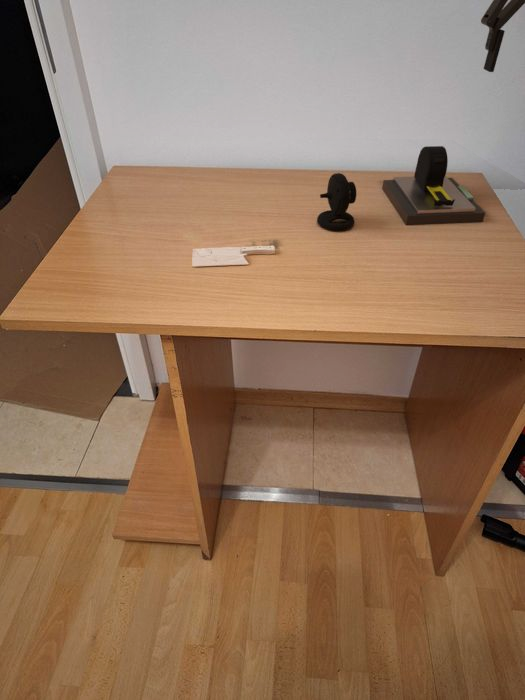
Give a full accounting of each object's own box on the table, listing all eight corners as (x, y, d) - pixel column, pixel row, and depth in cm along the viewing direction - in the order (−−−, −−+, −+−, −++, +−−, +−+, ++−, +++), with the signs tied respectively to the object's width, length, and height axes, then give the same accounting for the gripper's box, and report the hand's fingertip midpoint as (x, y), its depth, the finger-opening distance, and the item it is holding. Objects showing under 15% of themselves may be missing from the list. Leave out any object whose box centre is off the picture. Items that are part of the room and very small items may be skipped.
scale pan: (444, 178, 110) (445, 175, 109) (474, 212, 97) (476, 208, 97) (392, 180, 109) (393, 177, 109) (416, 214, 96) (417, 210, 96)
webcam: (360, 229, 96) (367, 180, 89) (324, 234, 94) (329, 184, 88) (345, 212, 101) (351, 165, 95) (311, 217, 100) (315, 168, 93)
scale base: (449, 186, 112) (452, 174, 110) (482, 221, 98) (486, 209, 96) (382, 188, 111) (383, 177, 109) (405, 225, 97) (408, 213, 96)
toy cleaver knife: (276, 263, 86) (276, 258, 85) (192, 267, 86) (191, 262, 85) (274, 249, 90) (274, 243, 89) (193, 252, 89) (192, 247, 89)
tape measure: (413, 178, 108) (420, 141, 103) (432, 177, 108) (440, 140, 103) (433, 206, 97) (442, 167, 92) (454, 206, 97) (465, 166, 92)
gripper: (627, -80, 81) (574, 63, 95) (484, -80, 80) (451, 66, 94) (658, -81, 76) (597, 72, 90) (505, -80, 74) (467, 75, 88)
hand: (522, 69), depth 92 cm, fingers open, 13 cm apart
